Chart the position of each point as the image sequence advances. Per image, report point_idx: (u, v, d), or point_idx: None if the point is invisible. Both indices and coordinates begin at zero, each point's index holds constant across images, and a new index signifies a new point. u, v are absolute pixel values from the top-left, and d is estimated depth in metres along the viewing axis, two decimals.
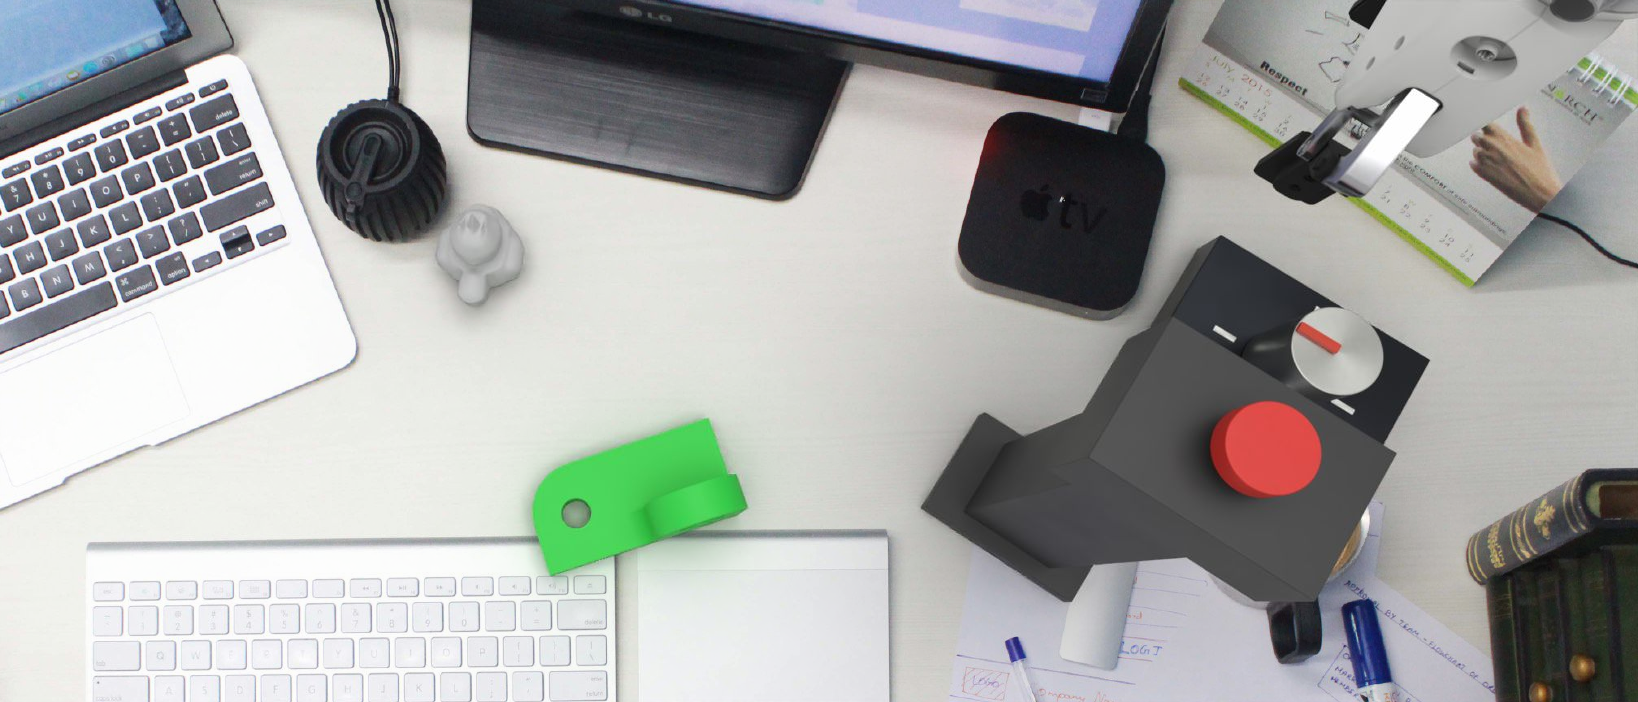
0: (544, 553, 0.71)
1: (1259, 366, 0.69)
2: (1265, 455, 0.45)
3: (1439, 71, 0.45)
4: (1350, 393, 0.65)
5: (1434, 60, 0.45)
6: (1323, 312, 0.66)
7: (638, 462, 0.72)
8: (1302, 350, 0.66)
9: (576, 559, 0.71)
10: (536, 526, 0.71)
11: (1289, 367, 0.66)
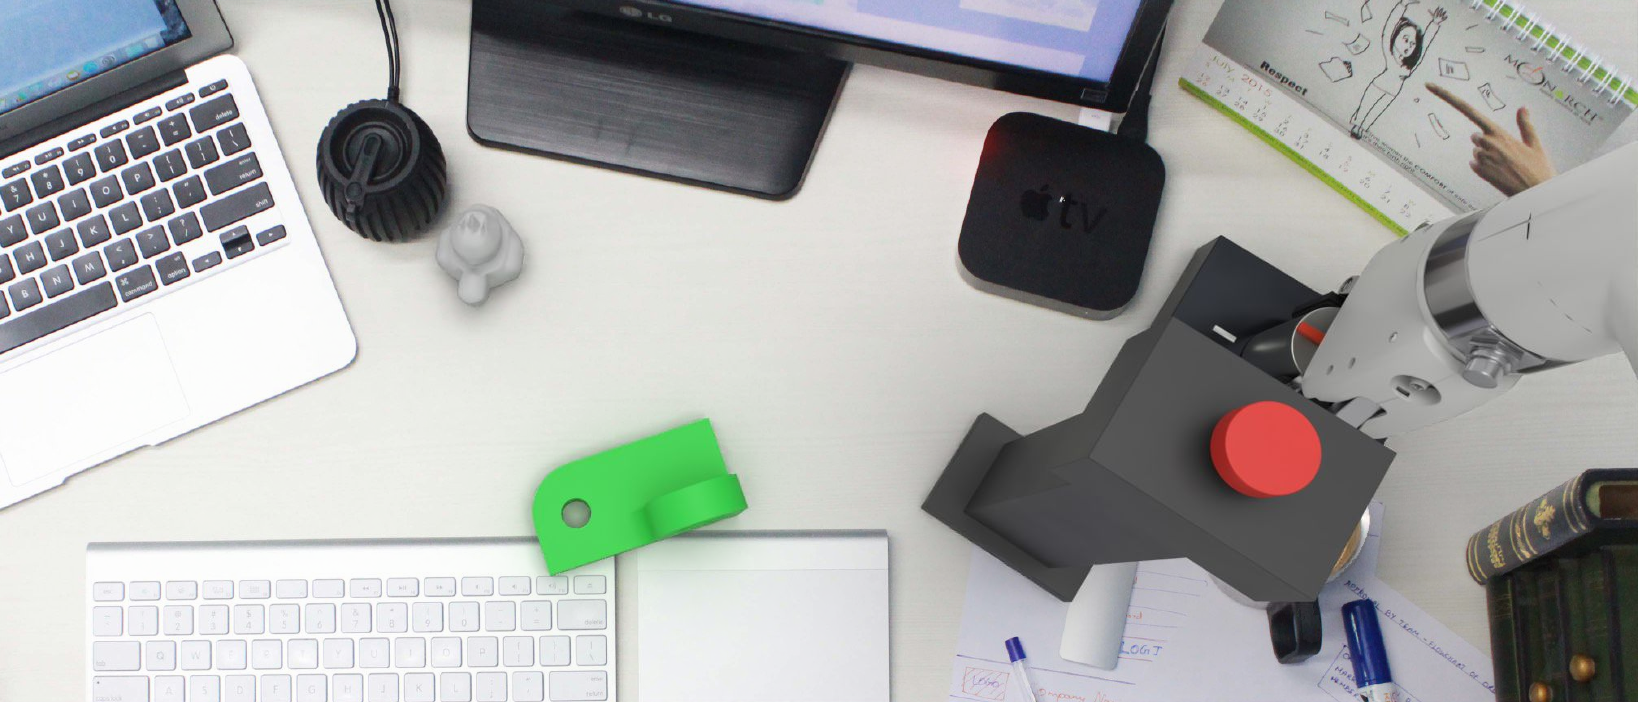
0: (544, 553, 0.71)
1: (1259, 366, 0.69)
2: (1265, 455, 0.45)
3: (1382, 391, 0.57)
4: None
5: (1378, 383, 0.57)
6: (1323, 312, 0.66)
7: (638, 462, 0.72)
8: (1302, 350, 0.66)
9: (576, 559, 0.71)
10: (536, 526, 0.71)
11: (1289, 367, 0.66)
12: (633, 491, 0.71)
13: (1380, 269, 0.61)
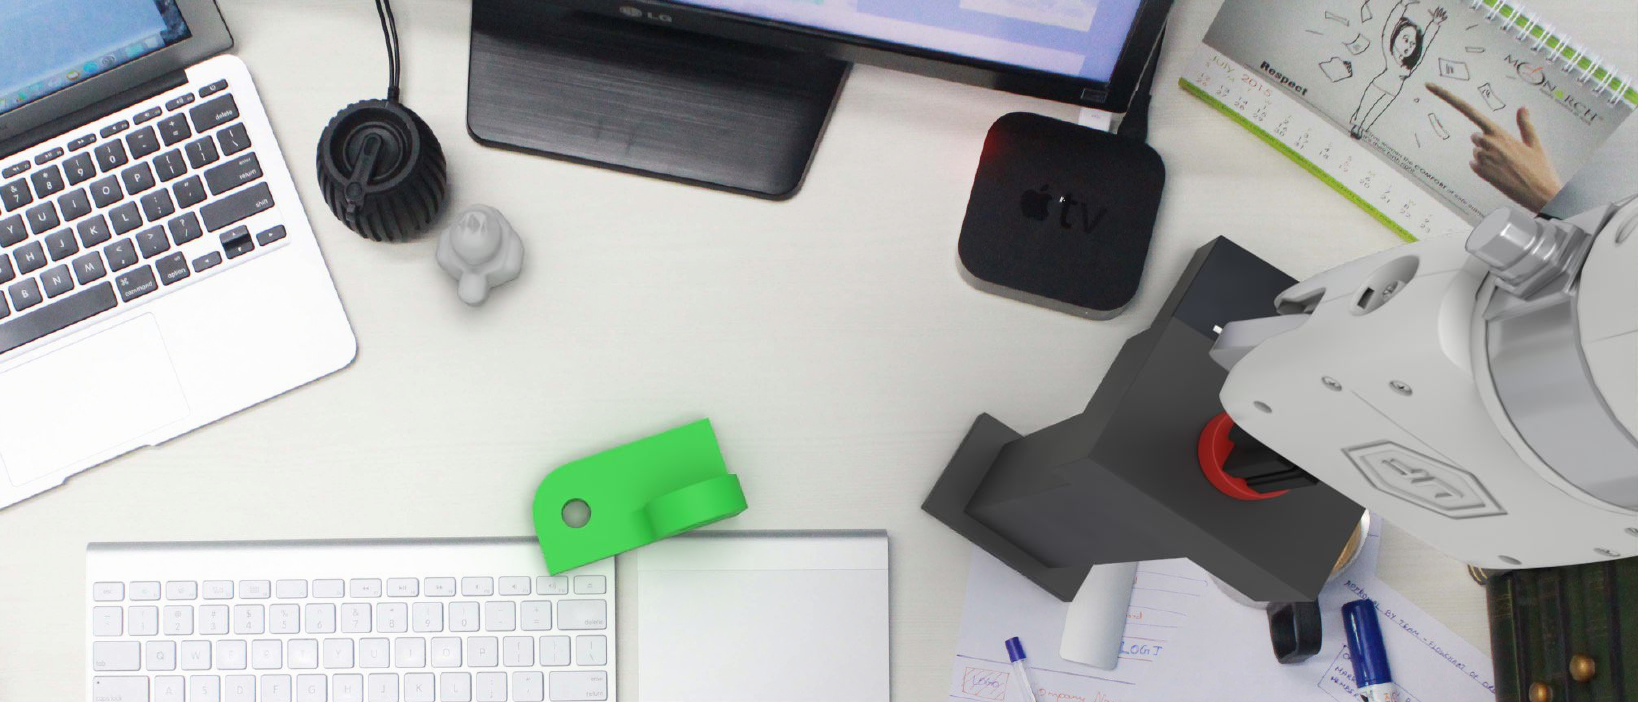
0: (544, 553, 0.71)
1: None
2: None
3: (1355, 280, 0.34)
4: None
5: (1370, 267, 0.34)
6: None
7: (638, 462, 0.72)
8: None
9: (576, 559, 0.71)
10: (536, 526, 0.71)
11: None
12: (633, 491, 0.71)
13: None
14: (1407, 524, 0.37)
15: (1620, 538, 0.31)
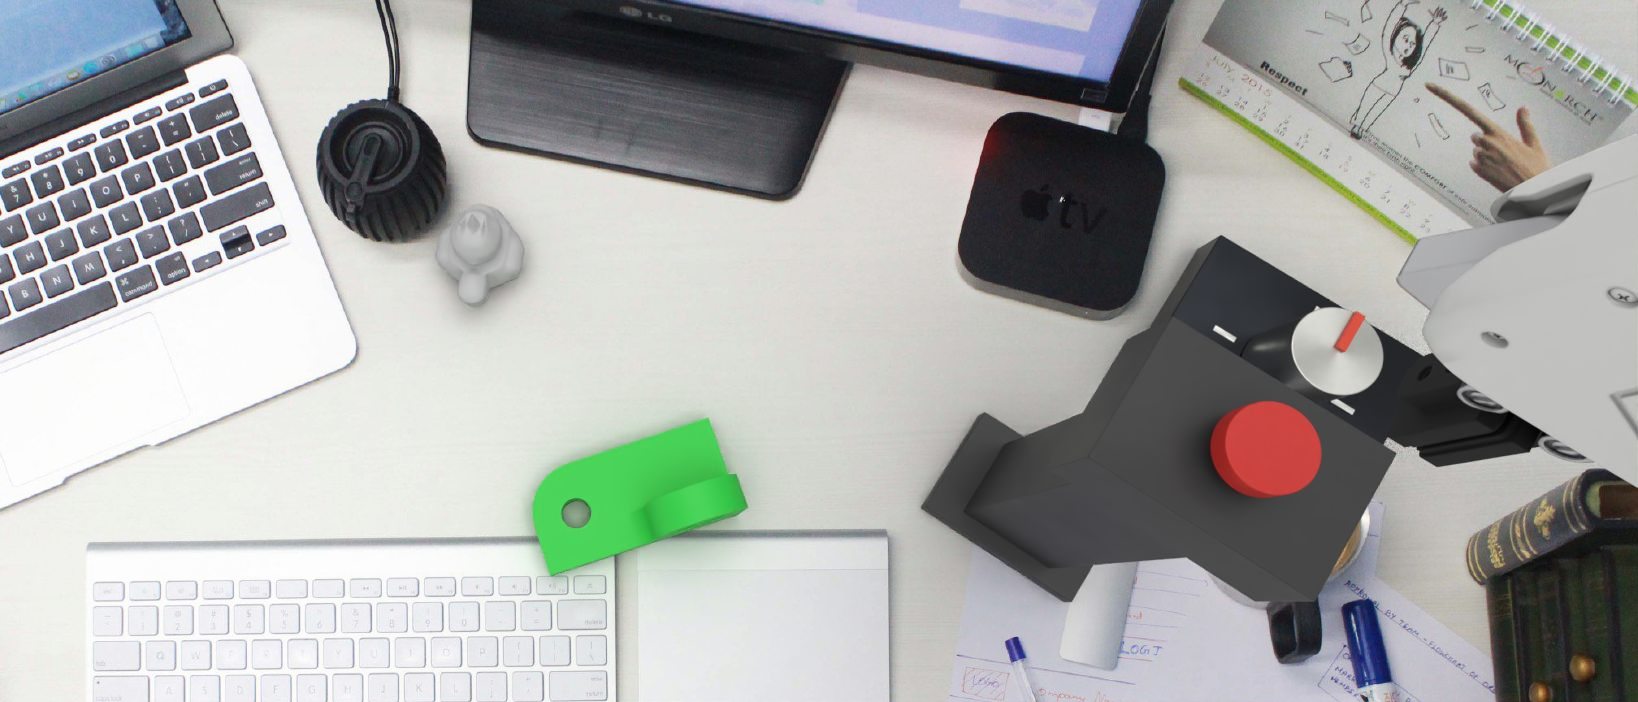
0: (544, 553, 0.71)
1: None
2: (1265, 455, 0.45)
3: None
4: (1294, 357, 0.66)
5: None
6: (1376, 341, 0.66)
7: (638, 462, 0.72)
8: (1333, 316, 0.66)
9: (576, 559, 0.71)
10: (536, 526, 0.71)
11: None
12: (633, 491, 0.71)
13: None
14: None
15: None
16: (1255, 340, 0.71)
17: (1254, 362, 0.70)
